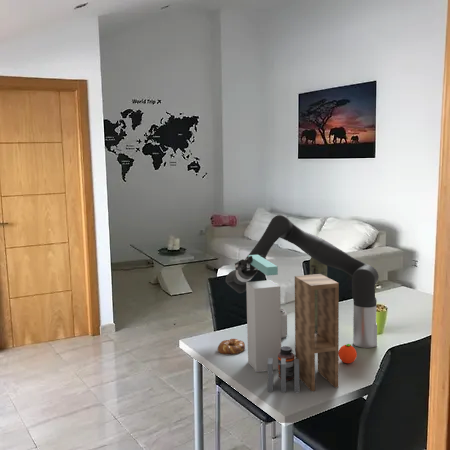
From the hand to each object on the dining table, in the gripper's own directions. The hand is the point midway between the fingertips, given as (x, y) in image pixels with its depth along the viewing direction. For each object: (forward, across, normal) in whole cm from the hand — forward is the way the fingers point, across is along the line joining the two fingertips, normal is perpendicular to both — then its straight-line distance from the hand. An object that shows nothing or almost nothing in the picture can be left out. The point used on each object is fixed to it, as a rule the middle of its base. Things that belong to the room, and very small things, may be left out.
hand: (257, 257), depth 194 cm
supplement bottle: (-4, +4, +45) cm, 45 cm away
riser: (-15, 0, +39) cm, 41 cm away
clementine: (-8, +32, +42) cm, 54 cm away
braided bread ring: (-32, -8, +30) cm, 44 cm away
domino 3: (+5, +4, +50) cm, 50 cm away
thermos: (-40, +37, +24) cm, 60 cm away
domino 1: (+2, -4, +48) cm, 48 cm away
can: (-39, +17, +25) cm, 49 cm away
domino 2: (+3, 0, +49) cm, 49 cm away
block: (+4, 0, +5) cm, 6 cm away
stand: (+1, +13, +48) cm, 50 cm away
